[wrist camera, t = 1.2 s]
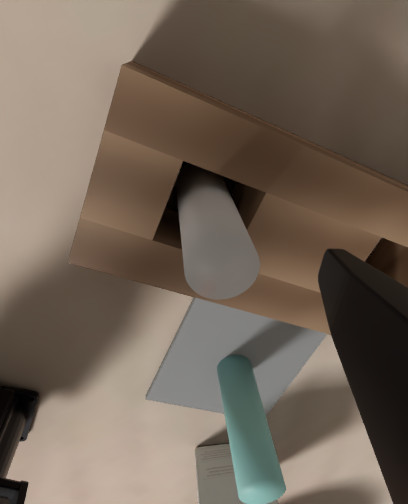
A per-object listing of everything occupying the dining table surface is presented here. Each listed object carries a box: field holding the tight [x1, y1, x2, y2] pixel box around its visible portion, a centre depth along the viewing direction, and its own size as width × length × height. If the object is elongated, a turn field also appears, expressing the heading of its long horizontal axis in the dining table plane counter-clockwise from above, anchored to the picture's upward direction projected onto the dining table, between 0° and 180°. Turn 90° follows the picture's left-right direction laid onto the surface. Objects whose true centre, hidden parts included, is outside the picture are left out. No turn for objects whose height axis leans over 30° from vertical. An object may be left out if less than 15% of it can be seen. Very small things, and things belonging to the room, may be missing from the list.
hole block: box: [68, 61, 408, 335], centre depth 22 cm, size 10×24×5 cm, turn 67°
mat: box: [146, 297, 327, 416], centre depth 31 cm, size 12×12×1 cm
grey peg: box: [176, 163, 260, 300], centre depth 18 cm, size 3×3×10 cm
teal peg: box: [217, 355, 286, 504], centre depth 26 cm, size 3×3×10 cm
